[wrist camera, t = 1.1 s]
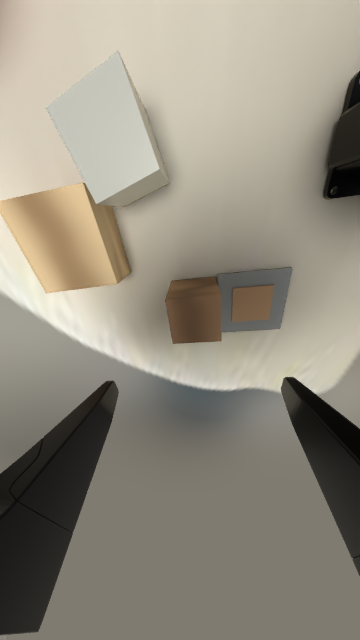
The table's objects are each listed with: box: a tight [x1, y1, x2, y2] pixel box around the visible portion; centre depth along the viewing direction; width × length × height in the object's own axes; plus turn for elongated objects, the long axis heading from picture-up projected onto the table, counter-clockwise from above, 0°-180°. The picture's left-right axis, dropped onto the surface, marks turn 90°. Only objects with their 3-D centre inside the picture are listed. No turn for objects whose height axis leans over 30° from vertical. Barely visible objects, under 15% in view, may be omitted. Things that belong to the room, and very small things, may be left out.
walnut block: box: [165, 277, 221, 344], centre depth 17 cm, size 4×4×5 cm
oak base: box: [0, 183, 131, 293], centre depth 15 cm, size 7×7×4 cm
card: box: [218, 267, 292, 332], centre depth 19 cm, size 7×7×1 cm
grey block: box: [46, 51, 170, 207], centre depth 12 cm, size 4×4×5 cm
